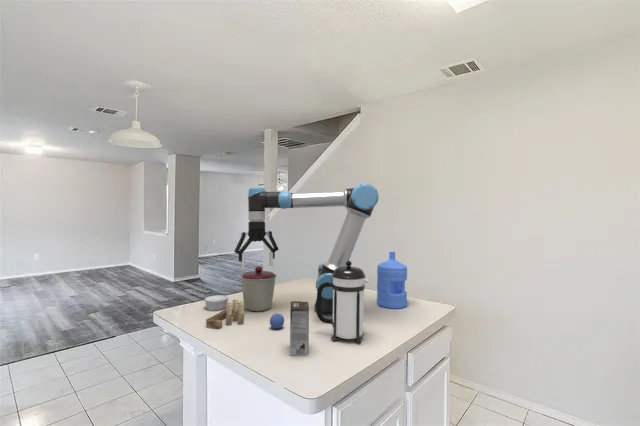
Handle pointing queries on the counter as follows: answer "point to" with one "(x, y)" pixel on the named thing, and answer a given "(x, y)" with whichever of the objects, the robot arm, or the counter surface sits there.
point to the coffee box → (299, 328)
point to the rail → (216, 320)
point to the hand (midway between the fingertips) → (257, 267)
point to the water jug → (391, 283)
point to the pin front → (240, 313)
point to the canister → (258, 289)
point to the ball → (277, 321)
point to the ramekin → (216, 302)
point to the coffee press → (346, 302)
